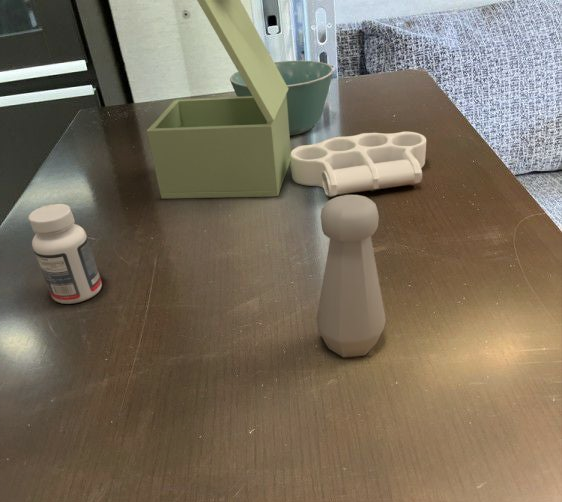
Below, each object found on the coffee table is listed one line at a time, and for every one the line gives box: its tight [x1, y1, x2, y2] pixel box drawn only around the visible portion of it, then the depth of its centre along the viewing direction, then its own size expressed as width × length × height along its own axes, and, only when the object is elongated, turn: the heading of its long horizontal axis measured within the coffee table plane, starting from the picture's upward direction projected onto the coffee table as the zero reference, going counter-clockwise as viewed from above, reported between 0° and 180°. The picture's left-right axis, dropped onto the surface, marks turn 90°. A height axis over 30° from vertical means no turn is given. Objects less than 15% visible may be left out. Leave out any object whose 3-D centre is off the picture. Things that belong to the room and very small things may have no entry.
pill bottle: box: [28, 203, 103, 305], centre depth 62 cm, size 5×5×9 cm
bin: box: [146, 95, 292, 200], centre depth 82 cm, size 16×13×9 cm
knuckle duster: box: [290, 131, 427, 198], centre depth 81 cm, size 3×18×15 cm
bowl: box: [229, 60, 334, 137], centre depth 97 cm, size 16×16×8 cm
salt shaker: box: [316, 194, 387, 358], centre depth 50 cm, size 6×6×13 cm
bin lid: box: [196, 0, 288, 123], centre depth 73 cm, size 16×13×5 cm
